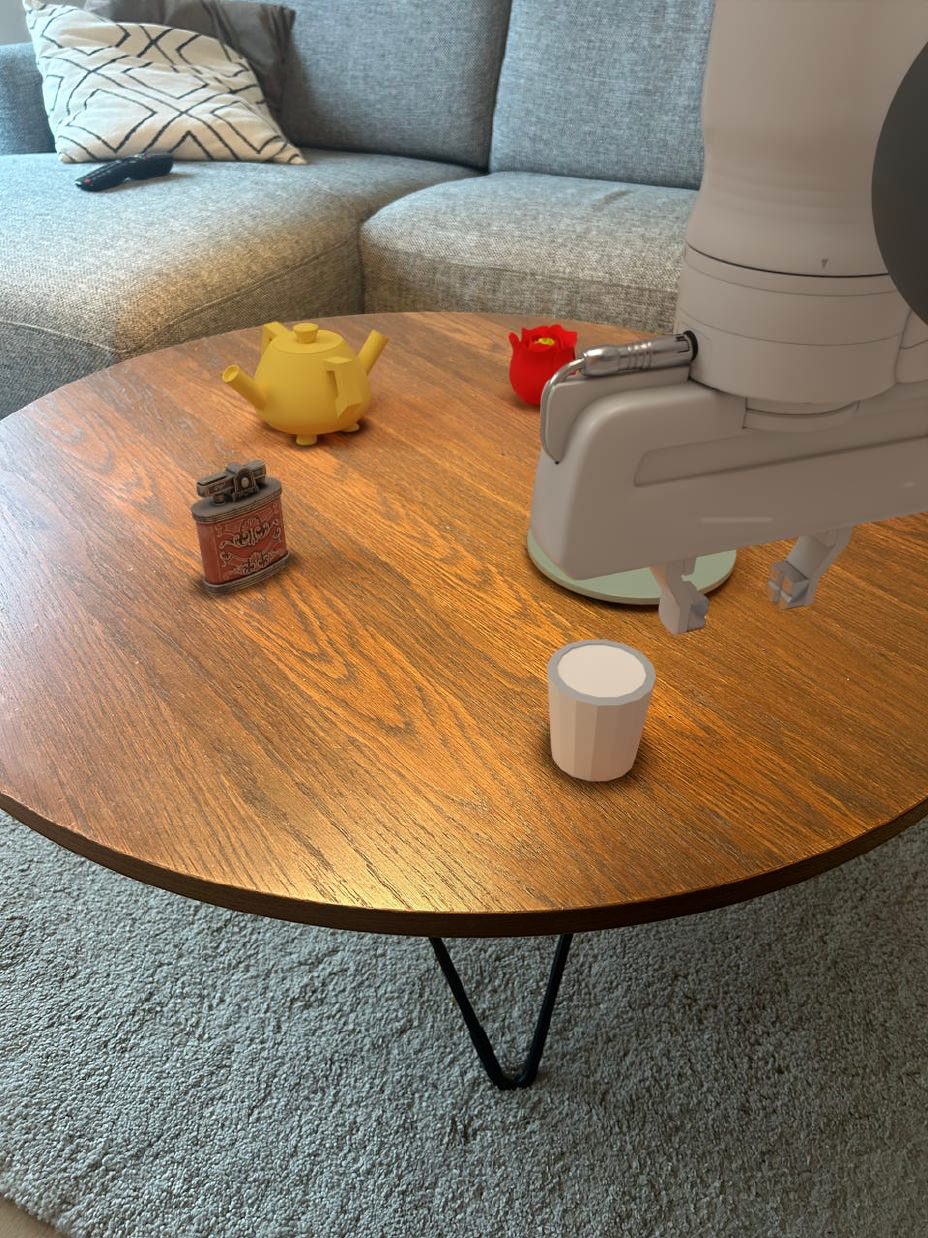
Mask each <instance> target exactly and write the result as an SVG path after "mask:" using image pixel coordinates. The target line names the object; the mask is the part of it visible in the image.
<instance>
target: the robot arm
mask: <svg viewBox="0 0 928 1238" xmlns="http://www.w3.org/2000/svg"><path fill="white" fill-rule="evenodd" d="M700 97H701V98H700V108H699V110H700V111H699V113H700V114H699V115H700V124H701V130H702V138H703V147H704V157H703V159H704V164H703V172H702V178H701V182H700V186H699V190H698V193H697V195H696V199H695V201H694V202H693V205H692V208H691V210H690V212H689V215H688V218H687V221H686V225H685V231H684V238H683V246H682V254H681V262H680V272H679V279H678V281H679V282H678V286H677V296H676V305H675V312H674V321H673V328H672V329H673V331H672V334H670V335H662V336H655V337H648V338H644V339H640V340H637V341H632V342H628V343H621V344H614V343H600V344H594V345H590V346H588V347H585V348H583V349H580V350H579V351H578V353H577V356H576V359H575V360H573V361H571V362H569V363H567V364H566V365H564V366H563V367H561V368H560V369H559V370H558V371H557V372H556V373H555V374H554V375H553V377H552V378H551V379H550V380H548V381H547V382H546V384H545V386H544V389H543V392H542V396H541V405H540V409H539V410H540V412H539V439H540V443H541V447H540V451H539V456H538V460H537V466H536V472H535V477H534V483H533V489H532V490H533V491H532V497H531V506H530V518H529V528H531V532H532V535H533V537H534V539H535V541H536V543H537V544H538V546H539V547H540V548H541V550H542V551H543V552H544V554H545V555H546V556H547V557H548V558H549V559H550V560H551V561H552V562H553V564H554V565H556V566H557V567H558V568H559V569H560V570H561V571H562V572H563V573H564V574H566V575H567V576H568V577H569V578H571V579H573V580H586V579H591V578H596V577H601V576H606V575H611V574H616V573H621V572H626V571H631V570H636V569H641V568H646V567H649V569H650V571H651V572H652V574H653V576H654V578H655V580H656V581H657V583H658V585H659V586H660V588H661V595H660V603H659V604H658V617H659V620H660V623H661V624H662V625H663V627H665V628H666V629H667V630H668V631H669V632H670V634H671V635H672V636H676V635H681V634H687V633H691V632H695V631H699V630H702V629H704V628H705V627H706V625H707V620H706V618H705V617H706V615H707V614H708V612H709V606H710V599H709V598H708V597H707V596H706V594H703V593H701V592H698V591H696V590H697V587H696V586H694V585H693V584H692V583H691V582H690V581H683V579H682V574H683V575H684V576H686V575H691V574H692V573H693V572H694V569H695V563H696V557H701V556H706V555H711V554H716V553H721V552H726V551H731V550H740V549H746V548H751V547H756V546H761V545H767V544H771V543H776V542H780V541H786V540H791V539H795V538H798V539H797V540H796V542H795V544H794V545H793V546H792V548H791V549H790V551H789V552H788V554H787V555H786V558H785V560H781V561H777V562H773V563H770V567H769V571H768V577H769V580H768V581H767V582H766V587H765V591H766V596H767V598H768V599H769V601H771V602H772V603H774V604H777V608H778V609H780V610H781V611H788V610H792V609H793V610H794V609H797V608H804V607H807V606H812V605H813V604H814V601H815V597H816V594H817V593H816V592H817V589H818V585H819V581H820V577H823V576H824V575H825V573H826V572H827V571H828V570H829V569H830V567H831V566H832V565H833V564H834V562H835V561H836V560H837V558H838V557H839V556H840V555H841V554H842V552H843V551H844V550H845V549H846V548H847V546H848V545H849V544H850V543H851V538H852V534H853V530H854V527H855V526H861V525H866V524H870V523H875V522H876V523H877V522H880V521H881V522H882V521H886V520H891V519H896V518H901V517H906V516H911V515H916V514H921V513H926V512H928V0H715V5H714V10H713V17H712V23H711V26H710V34H709V41H708V49H707V54H706V61H705V69H704V74H703V81H702V90H701V96H700ZM575 371H576V372H577V371H578V372H579V373H580V374H576V375H572V376H569V375H570V374H572V373H574V372H575Z"/></svg>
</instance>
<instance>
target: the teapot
mask: <svg viewBox="0 0 928 1238" xmlns="http://www.w3.org/2000/svg"><path fill="white" fill-rule="evenodd" d="M292 329H293V330H290V329H288V328H286V327H285V326H284V325H282V324H281V323H280V322H279V321H277V320H276V321H272V322H269V323H265V324H263V325H262V334H261V335H262V336H261V348H260V361H259V362H258V365H257V366H256V367H257V368H256V371H255V373H254V376H253V379H252V378H251V377H250V376H249V375H248V374H247V373H246V372H245V371H244V370H242V368H240V367H239V366H238V365H237V364H232V365H229V366H228V367H227V368H226V369H225V370H224V371H223V373H222V376H221V379H222V381H223V382H224V383H226V384H227V385H228V386H229V387H230V388H231V389H233V390H234V391H236V393H238V394H239V395H240V396H241V397H242V398H243V399H245V401H247V402H248V403H250V404H251V405H252V407H253V409H254V411H255V413H256V415H258V416H259V418H261V419H262V421H264V422H265V423H266V424H268V425H269V426H270V427H272V428H273V429H275V430H277V431H280V432H283V433H286V434H292V435H296V439H295V442H296V444H298V445H300V446H311V445H313V444H316V443H317V442H318V436H317V435H323V434H330V433H334V432H338V431H342V432H345V433H347V432H348V433H349V432H351V433H352V432H355V431H357V430H359V429H360V426H359V424H358V422H359V420H360V419H361V418H362V417H363V416H364V414H365V413H366V412H367V411H368V409H369V407H370V406H371V403H372V398H373V397H372V388H371V384H370V380H369V377H368V376H369V375H370V373H371V372H372V369H373V368H374V367H375V364H376V363H377V361H378V360H379V358H380V356H381V354H382V353H383V351H384V349H385V348H386V346H387V344H388V342H389V341H390V338H388V337H387V336H385V335H383V334H382V333H380V332H379V331H376V329H372V330H371V331H370V334H369V335H368V337H367V339H366V341H365V343H364V344H363V345H362V347H361V349H360V351H359V353H358V354H356V353H355V351H354V350H353V348H351V346H350V345H349V343H348V342H347V341H346V340H345V339H344V338H343V337H342V336H341V335H340V334H339V333H336V332H333V331H331V330H326V329H319V325H318V324H316V323H313V322H302V323H298V324H295V325H294V326H293V327H292Z"/></svg>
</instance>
